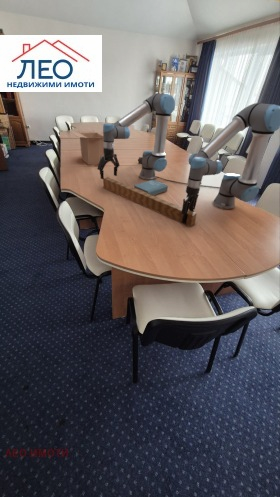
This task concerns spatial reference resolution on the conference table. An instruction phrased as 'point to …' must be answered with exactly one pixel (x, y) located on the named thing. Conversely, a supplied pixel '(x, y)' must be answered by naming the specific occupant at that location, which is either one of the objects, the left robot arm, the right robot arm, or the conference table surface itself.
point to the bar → (149, 201)
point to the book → (151, 187)
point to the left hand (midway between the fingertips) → (108, 177)
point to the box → (91, 146)
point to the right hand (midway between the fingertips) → (185, 221)
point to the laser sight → (140, 160)
